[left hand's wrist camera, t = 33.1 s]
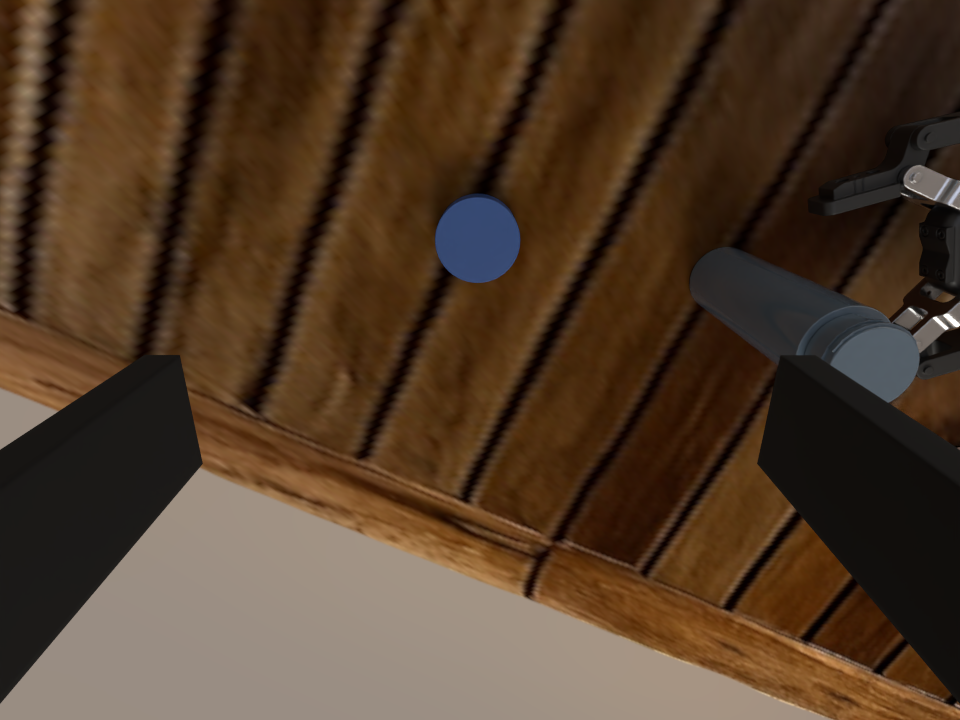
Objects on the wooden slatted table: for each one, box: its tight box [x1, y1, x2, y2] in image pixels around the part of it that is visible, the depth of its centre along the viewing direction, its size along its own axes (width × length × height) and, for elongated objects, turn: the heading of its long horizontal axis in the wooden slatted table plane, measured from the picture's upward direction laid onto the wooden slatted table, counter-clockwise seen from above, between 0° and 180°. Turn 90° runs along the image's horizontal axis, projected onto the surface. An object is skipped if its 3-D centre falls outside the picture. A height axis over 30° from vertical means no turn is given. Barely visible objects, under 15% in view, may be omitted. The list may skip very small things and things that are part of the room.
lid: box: [435, 194, 520, 283], centre depth 36 cm, size 5×5×2 cm
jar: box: [690, 247, 920, 403], centre depth 31 cm, size 4×4×16 cm
